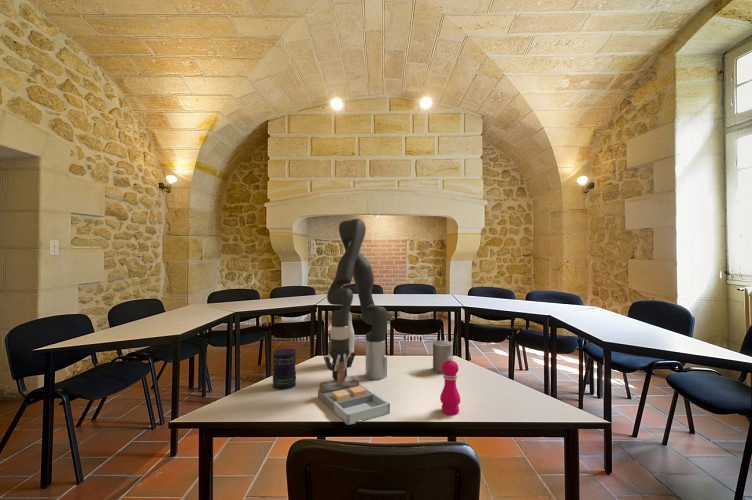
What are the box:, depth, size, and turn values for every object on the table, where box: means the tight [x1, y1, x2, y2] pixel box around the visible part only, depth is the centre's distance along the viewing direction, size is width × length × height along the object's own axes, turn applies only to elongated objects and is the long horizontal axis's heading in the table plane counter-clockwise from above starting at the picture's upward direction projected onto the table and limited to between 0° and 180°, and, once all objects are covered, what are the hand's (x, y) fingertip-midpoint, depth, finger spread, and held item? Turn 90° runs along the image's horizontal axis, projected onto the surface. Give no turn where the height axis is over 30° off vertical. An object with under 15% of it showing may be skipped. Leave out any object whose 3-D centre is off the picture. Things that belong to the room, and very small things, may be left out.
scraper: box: [318, 361, 360, 392], centre depth 141 cm, size 16×4×10 cm, turn 121°
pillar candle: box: [432, 340, 454, 375], centre depth 171 cm, size 10×10×15 cm
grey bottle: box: [346, 311, 355, 361], centre depth 180 cm, size 10×10×28 cm
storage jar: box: [272, 348, 297, 391], centre depth 152 cm, size 10×10×15 cm
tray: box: [333, 392, 391, 426], centre depth 125 cm, size 17×11×4 cm, turn 121°
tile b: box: [333, 390, 350, 401], centre depth 132 cm, size 5×5×2 cm
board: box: [317, 383, 374, 413], centre depth 137 cm, size 17×16×3 cm
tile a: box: [349, 385, 366, 397], centre depth 136 cm, size 5×5×2 cm
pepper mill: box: [439, 356, 461, 416], centre depth 127 cm, size 7×7×20 cm
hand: (339, 378), depth 141 cm, fingers closed on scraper, 3 cm apart
